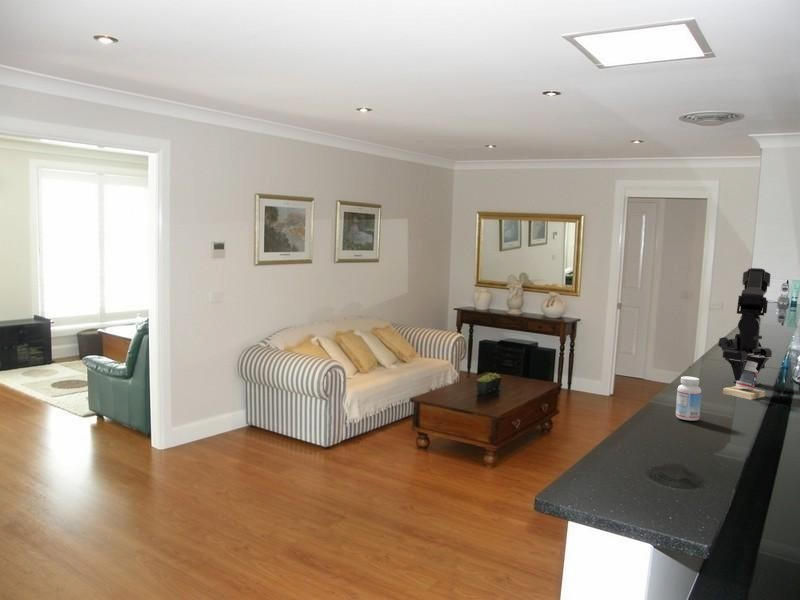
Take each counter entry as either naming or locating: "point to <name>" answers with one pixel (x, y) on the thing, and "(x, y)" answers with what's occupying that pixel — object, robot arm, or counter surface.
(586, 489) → the counter surface
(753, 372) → the pill bottle
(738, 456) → the counter surface
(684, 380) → the pill bottle
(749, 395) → the maple block
